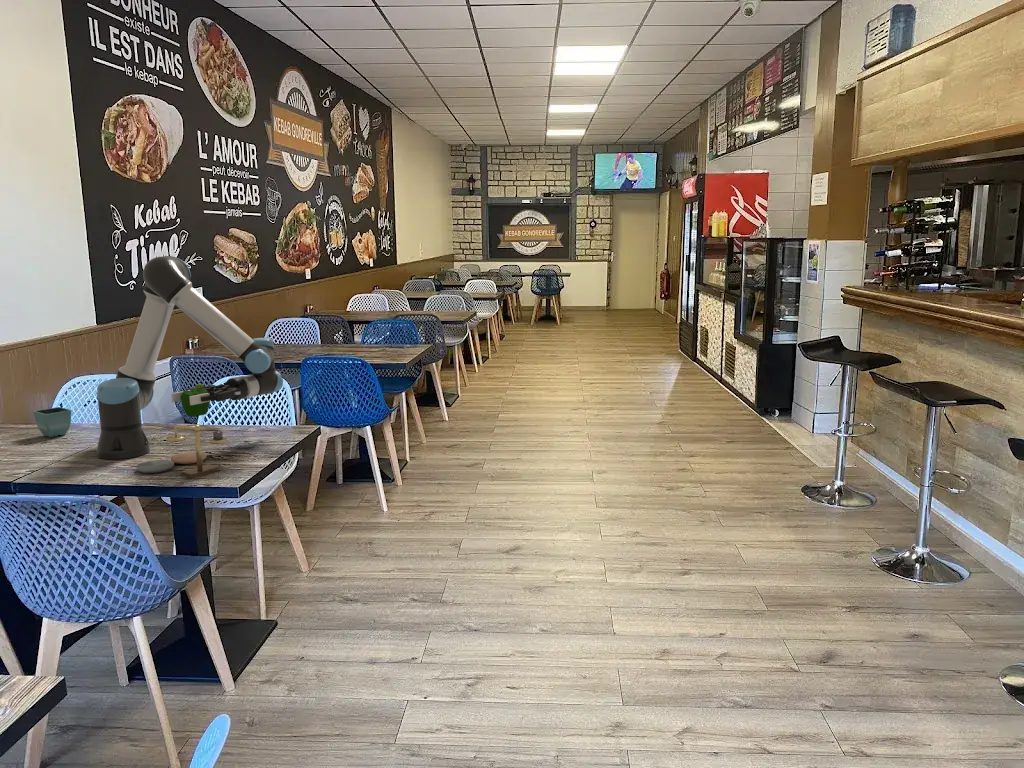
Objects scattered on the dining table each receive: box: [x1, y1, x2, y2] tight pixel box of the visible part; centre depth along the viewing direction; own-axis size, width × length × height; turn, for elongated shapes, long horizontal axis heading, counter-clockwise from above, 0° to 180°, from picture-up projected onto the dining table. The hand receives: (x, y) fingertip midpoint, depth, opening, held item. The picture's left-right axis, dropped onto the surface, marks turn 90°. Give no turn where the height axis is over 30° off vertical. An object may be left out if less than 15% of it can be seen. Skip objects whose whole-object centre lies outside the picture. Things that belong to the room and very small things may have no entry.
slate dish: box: [136, 459, 175, 474], centre depth 221 cm, size 10×10×2 cm
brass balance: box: [166, 424, 228, 479], centre depth 217 cm, size 5×18×16 cm, turn 148°
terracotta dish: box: [170, 450, 207, 465], centre depth 230 cm, size 10×10×2 cm
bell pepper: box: [180, 383, 211, 418], centre depth 234 cm, size 8×8×10 cm
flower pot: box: [33, 406, 72, 438], centre depth 259 cm, size 9×9×9 cm
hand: (181, 399), depth 230 cm, fingers closed on bell pepper, 8 cm apart
